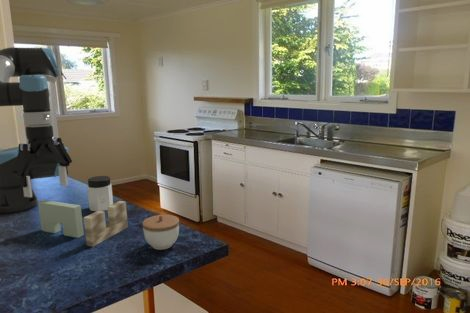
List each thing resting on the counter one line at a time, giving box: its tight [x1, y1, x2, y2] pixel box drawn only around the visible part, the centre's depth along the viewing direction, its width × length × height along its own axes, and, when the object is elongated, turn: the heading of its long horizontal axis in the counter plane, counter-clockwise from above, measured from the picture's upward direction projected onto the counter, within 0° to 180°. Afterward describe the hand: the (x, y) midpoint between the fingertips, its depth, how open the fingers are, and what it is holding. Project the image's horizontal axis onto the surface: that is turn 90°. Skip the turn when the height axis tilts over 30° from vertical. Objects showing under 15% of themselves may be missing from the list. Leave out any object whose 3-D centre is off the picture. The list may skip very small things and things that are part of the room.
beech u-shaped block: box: [83, 200, 129, 248], centre depth 116 cm, size 16×2×9 cm, turn 157°
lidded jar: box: [142, 214, 180, 251], centre depth 109 cm, size 11×11×9 cm
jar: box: [87, 175, 114, 212], centre depth 141 cm, size 9×8×12 cm
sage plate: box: [37, 199, 85, 239], centre depth 118 cm, size 16×2×10 cm, turn 67°
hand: (47, 190), depth 118 cm, fingers open, 13 cm apart
